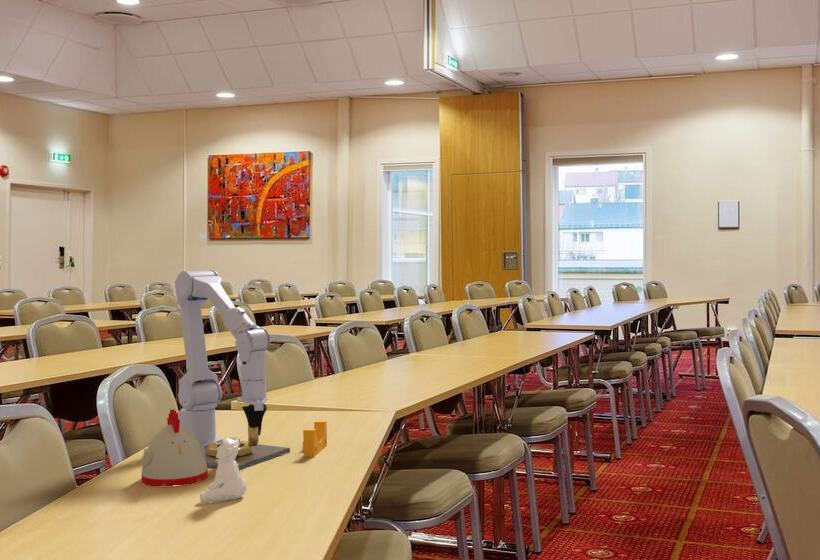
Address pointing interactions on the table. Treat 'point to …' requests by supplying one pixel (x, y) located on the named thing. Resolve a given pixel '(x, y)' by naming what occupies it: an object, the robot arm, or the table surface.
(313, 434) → the pipe clamp
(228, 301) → the robot arm
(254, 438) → the ring nut
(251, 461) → the housing
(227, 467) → the seated beast figurine
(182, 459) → the kitchen timer
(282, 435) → the table surface
